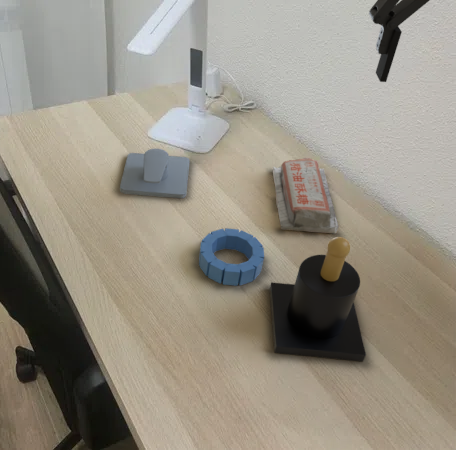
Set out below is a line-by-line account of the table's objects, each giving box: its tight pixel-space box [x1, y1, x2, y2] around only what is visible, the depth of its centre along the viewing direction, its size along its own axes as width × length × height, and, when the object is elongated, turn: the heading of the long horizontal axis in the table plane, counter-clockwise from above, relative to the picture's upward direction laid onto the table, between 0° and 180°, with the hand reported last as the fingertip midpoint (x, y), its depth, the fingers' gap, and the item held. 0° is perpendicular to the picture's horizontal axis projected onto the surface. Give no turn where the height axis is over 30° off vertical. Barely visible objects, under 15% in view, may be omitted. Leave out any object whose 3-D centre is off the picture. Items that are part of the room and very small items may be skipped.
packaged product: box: [272, 157, 340, 234], centre depth 100 cm, size 18×5×10 cm
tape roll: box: [198, 227, 265, 287], centre depth 88 cm, size 10×10×3 cm
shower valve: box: [119, 148, 190, 199], centre depth 104 cm, size 12×6×15 cm
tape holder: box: [269, 236, 367, 362], centre depth 75 cm, size 12×12×16 cm
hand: (434, 80), depth 71 cm, fingers open, 13 cm apart
